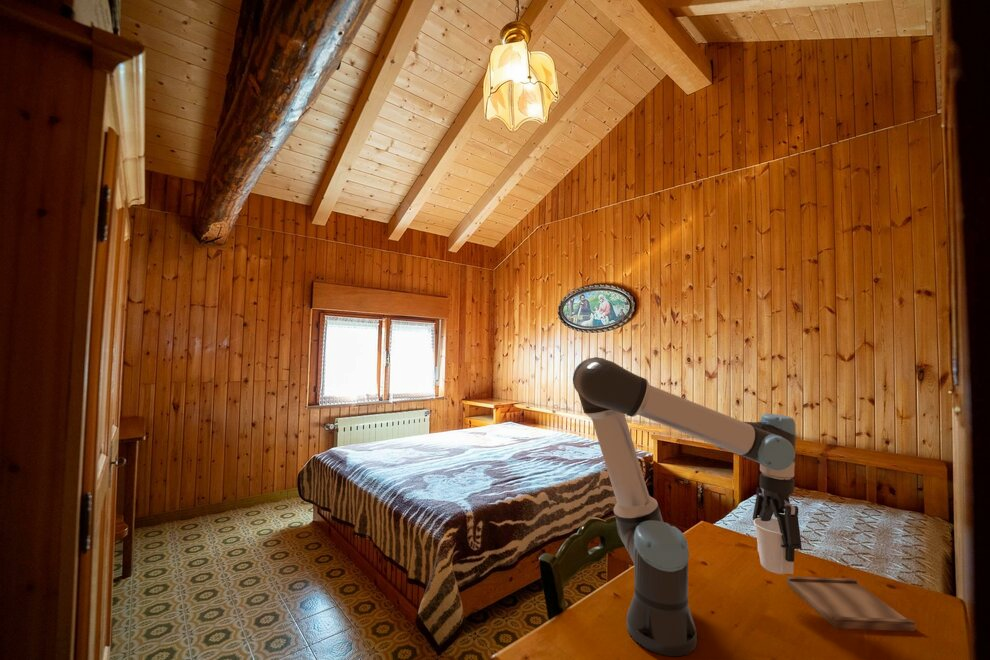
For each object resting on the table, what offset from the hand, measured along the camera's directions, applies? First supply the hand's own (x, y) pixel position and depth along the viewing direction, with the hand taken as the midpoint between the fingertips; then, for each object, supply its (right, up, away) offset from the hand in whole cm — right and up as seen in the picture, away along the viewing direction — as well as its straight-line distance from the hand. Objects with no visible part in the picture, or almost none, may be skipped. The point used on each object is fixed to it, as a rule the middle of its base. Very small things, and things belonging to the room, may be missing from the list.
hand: (774, 561), depth 110 cm
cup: (0, -2, 0) cm, 2 cm away
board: (+18, -11, -1) cm, 21 cm away
